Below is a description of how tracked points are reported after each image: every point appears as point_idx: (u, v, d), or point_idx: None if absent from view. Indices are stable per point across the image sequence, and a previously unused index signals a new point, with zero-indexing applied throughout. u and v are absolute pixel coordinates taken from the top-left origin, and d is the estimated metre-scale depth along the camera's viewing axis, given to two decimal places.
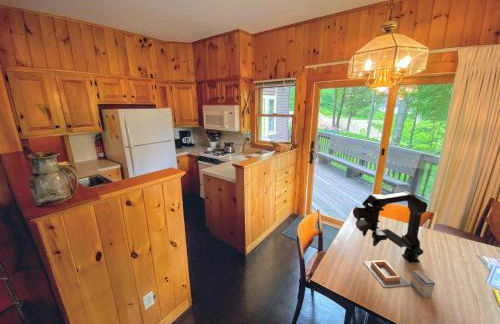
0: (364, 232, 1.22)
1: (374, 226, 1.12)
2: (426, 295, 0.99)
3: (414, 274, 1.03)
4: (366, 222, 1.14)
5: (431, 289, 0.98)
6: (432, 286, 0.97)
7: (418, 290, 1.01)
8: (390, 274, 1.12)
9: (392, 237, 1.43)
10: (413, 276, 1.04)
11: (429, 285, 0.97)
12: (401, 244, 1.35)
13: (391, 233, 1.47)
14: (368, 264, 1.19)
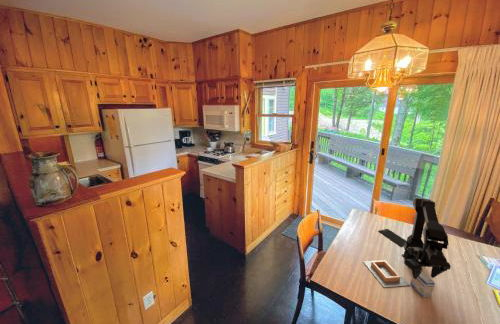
0: (432, 273, 1.01)
1: (422, 259, 0.98)
2: (426, 295, 0.99)
3: None
4: None
5: (431, 289, 0.98)
6: (432, 286, 0.97)
7: (418, 290, 1.01)
8: (390, 274, 1.12)
9: (392, 237, 1.43)
10: None
11: (429, 285, 0.97)
12: (401, 244, 1.35)
13: (391, 233, 1.47)
14: (368, 264, 1.19)
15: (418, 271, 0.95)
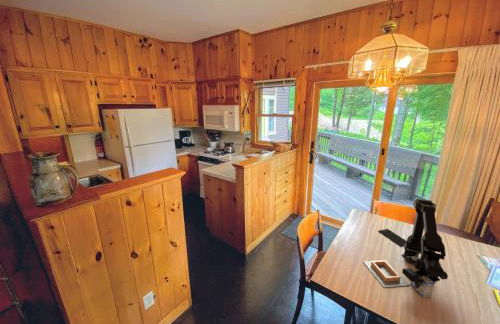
0: None
1: (420, 268, 0.99)
2: (426, 295, 0.99)
3: None
4: None
5: (431, 289, 0.98)
6: (432, 286, 0.97)
7: (418, 290, 1.01)
8: (390, 274, 1.12)
9: (392, 237, 1.43)
10: None
11: (429, 285, 0.97)
12: (401, 244, 1.35)
13: (391, 233, 1.47)
14: (368, 264, 1.19)
15: (416, 281, 0.97)
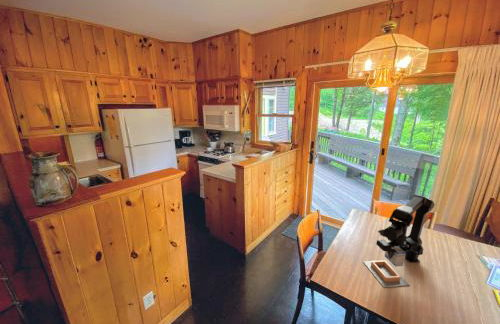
0: None
1: (392, 239, 1.05)
2: (398, 264, 1.05)
3: None
4: None
5: (402, 258, 1.04)
6: (403, 255, 1.04)
7: (391, 260, 1.08)
8: (390, 274, 1.12)
9: None
10: None
11: (400, 254, 1.03)
12: None
13: None
14: (368, 264, 1.19)
15: (388, 250, 1.03)
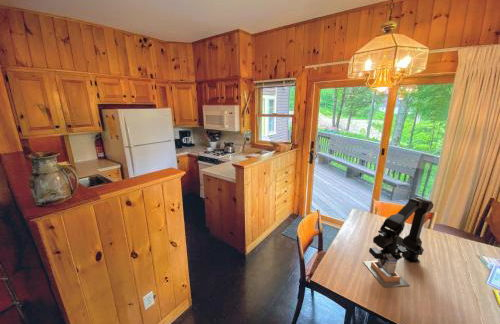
0: None
1: (384, 247, 1.09)
2: (390, 271, 1.09)
3: None
4: None
5: (394, 266, 1.08)
6: (394, 263, 1.07)
7: (383, 267, 1.11)
8: (390, 274, 1.12)
9: None
10: None
11: (392, 262, 1.07)
12: (401, 244, 1.35)
13: None
14: (368, 264, 1.19)
15: (380, 258, 1.07)
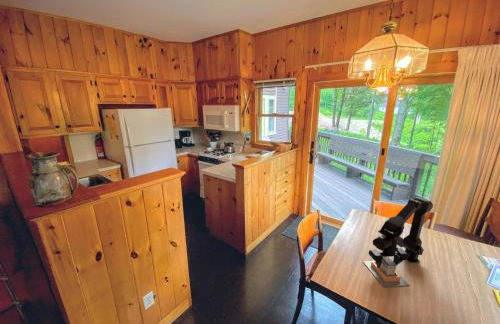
0: (394, 262, 1.12)
1: (383, 249, 1.10)
2: None
3: None
4: None
5: (393, 270, 1.09)
6: (394, 267, 1.08)
7: (383, 272, 1.12)
8: None
9: None
10: None
11: (391, 266, 1.08)
12: (401, 244, 1.35)
13: None
14: (368, 264, 1.19)
15: (379, 260, 1.07)
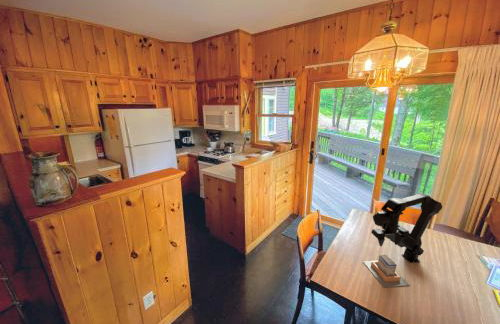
0: (395, 240, 1.17)
1: (385, 228, 1.14)
2: None
3: (380, 257, 1.14)
4: None
5: (393, 270, 1.09)
6: (394, 267, 1.08)
7: (383, 272, 1.12)
8: None
9: (392, 237, 1.43)
10: (379, 259, 1.15)
11: (391, 266, 1.08)
12: (401, 244, 1.35)
13: None
14: (368, 264, 1.19)
15: (382, 238, 1.12)
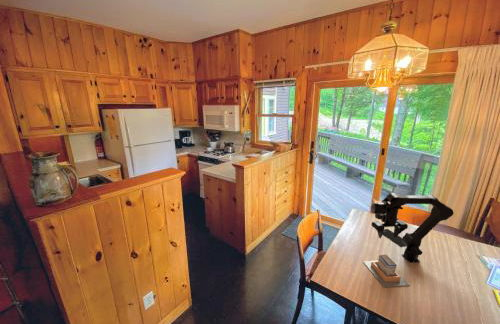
0: (394, 233, 1.23)
1: (385, 221, 1.20)
2: None
3: (380, 257, 1.14)
4: None
5: (393, 270, 1.09)
6: (394, 267, 1.08)
7: (383, 272, 1.12)
8: None
9: (392, 237, 1.43)
10: (379, 259, 1.15)
11: (391, 266, 1.08)
12: (401, 244, 1.35)
13: (391, 233, 1.47)
14: (368, 264, 1.19)
15: (381, 230, 1.18)
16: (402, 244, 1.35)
